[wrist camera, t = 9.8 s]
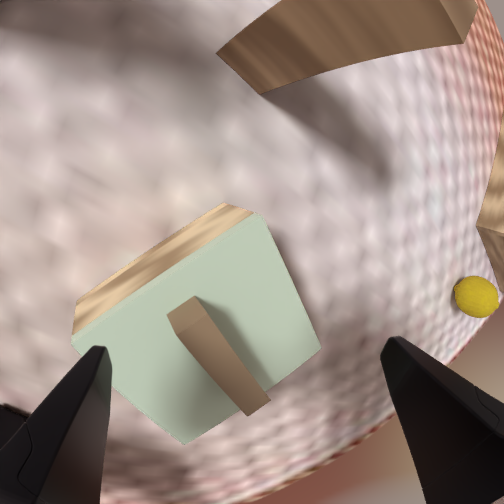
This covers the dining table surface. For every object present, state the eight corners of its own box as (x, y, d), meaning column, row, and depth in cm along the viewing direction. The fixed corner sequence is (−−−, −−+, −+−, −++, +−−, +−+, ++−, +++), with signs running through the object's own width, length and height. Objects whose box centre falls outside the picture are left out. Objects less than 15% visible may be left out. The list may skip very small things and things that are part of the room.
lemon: (440, 301, 36) (487, 323, 29) (455, 264, 36) (503, 282, 29) (452, 308, 39) (493, 327, 32) (465, 274, 38) (508, 291, 32)
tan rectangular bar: (259, 94, 18) (463, 43, 6) (215, 53, 16) (393, -62, 4) (292, 60, 18) (478, 7, 6) (253, 20, 16) (424, -74, 4)
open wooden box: (165, 397, 21) (180, 435, 17) (76, 300, 16) (71, 335, 13) (281, 316, 24) (313, 341, 20) (223, 202, 19) (253, 212, 15)
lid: (180, 436, 17) (194, 467, 15) (71, 335, 13) (68, 369, 10) (314, 342, 20) (341, 363, 17) (254, 212, 15) (284, 222, 13)
